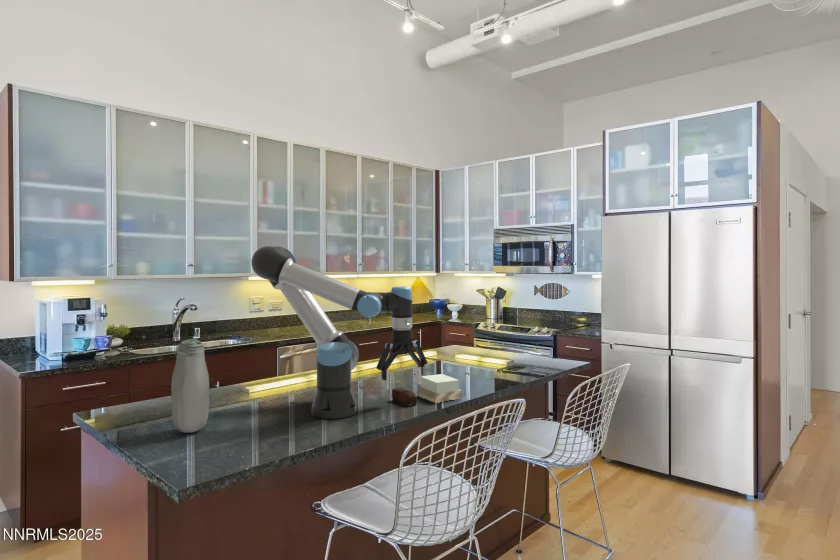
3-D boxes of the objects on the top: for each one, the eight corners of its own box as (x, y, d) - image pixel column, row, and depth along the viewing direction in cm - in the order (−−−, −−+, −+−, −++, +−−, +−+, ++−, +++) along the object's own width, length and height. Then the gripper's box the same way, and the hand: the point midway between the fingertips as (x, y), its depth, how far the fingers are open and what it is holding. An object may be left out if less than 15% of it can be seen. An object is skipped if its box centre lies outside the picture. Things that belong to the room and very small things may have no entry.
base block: (435, 404, 192) (435, 393, 192) (418, 397, 202) (418, 387, 202) (461, 400, 198) (462, 390, 198) (444, 393, 208) (444, 383, 208)
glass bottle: (202, 436, 153) (201, 342, 152) (166, 436, 152) (165, 341, 151) (213, 426, 163) (213, 337, 162) (180, 426, 162) (179, 337, 161)
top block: (436, 393, 192) (436, 382, 192) (420, 386, 202) (420, 376, 202) (458, 390, 197) (459, 380, 197) (442, 383, 207) (442, 374, 207)
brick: (391, 401, 195) (391, 388, 195) (399, 399, 197) (400, 387, 197) (408, 407, 186) (408, 394, 186) (417, 405, 189) (417, 393, 189)
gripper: (376, 332, 180) (376, 393, 181) (436, 327, 193) (436, 383, 194) (366, 330, 187) (367, 388, 187) (425, 325, 200) (425, 380, 200)
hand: (402, 386), depth 191 cm, fingers open, 13 cm apart
